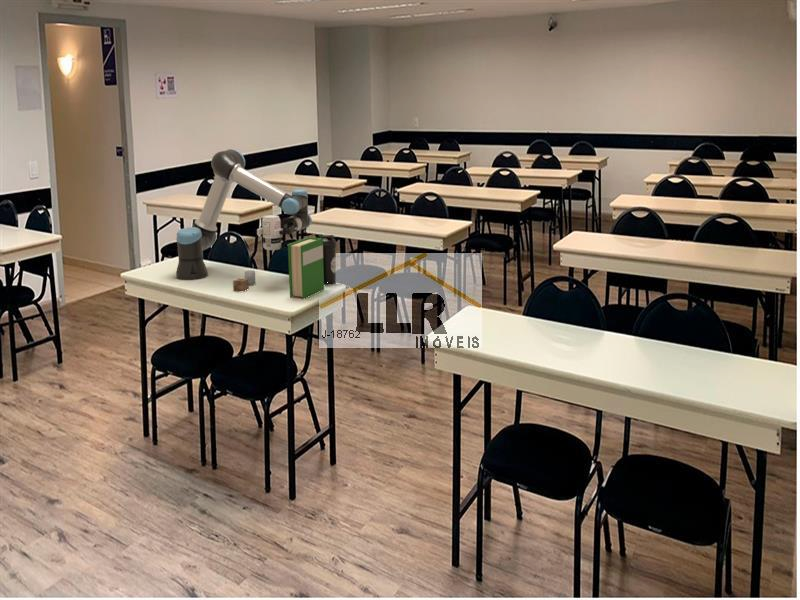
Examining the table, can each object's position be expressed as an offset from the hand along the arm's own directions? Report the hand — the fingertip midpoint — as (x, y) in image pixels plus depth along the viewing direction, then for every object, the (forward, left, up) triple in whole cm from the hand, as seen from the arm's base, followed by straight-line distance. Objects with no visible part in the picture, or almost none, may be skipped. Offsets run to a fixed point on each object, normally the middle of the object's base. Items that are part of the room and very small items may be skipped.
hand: (266, 233), depth 336 cm
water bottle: (+20, +20, -27) cm, 39 cm away
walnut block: (-11, -6, -27) cm, 29 cm away
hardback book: (+20, 0, -27) cm, 33 cm away
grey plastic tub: (-13, +5, -26) cm, 30 cm away
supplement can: (0, +5, -8) cm, 9 cm away
